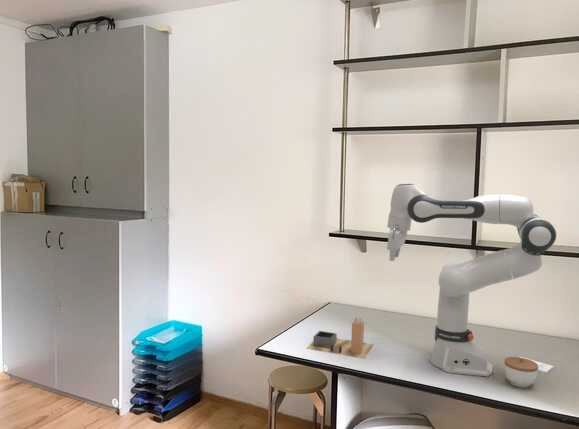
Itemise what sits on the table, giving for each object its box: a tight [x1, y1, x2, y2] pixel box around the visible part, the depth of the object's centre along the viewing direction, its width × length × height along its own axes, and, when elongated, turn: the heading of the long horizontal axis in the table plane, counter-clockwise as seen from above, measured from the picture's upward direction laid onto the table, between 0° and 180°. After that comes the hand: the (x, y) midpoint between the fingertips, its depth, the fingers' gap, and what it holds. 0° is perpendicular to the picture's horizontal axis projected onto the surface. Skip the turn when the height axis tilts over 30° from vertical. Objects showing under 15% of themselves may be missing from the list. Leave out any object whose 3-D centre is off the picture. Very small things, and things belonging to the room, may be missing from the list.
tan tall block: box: [350, 316, 365, 354], centre depth 193 cm, size 4×4×14 cm
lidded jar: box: [503, 356, 539, 389], centre depth 170 cm, size 11×11×9 cm
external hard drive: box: [519, 356, 555, 375], centre depth 187 cm, size 2×8×12 cm
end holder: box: [312, 330, 338, 349], centre depth 200 cm, size 8×8×4 cm
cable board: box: [305, 338, 375, 360], centre depth 199 cm, size 24×17×3 cm
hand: (393, 258), depth 191 cm, fingers open, 8 cm apart
